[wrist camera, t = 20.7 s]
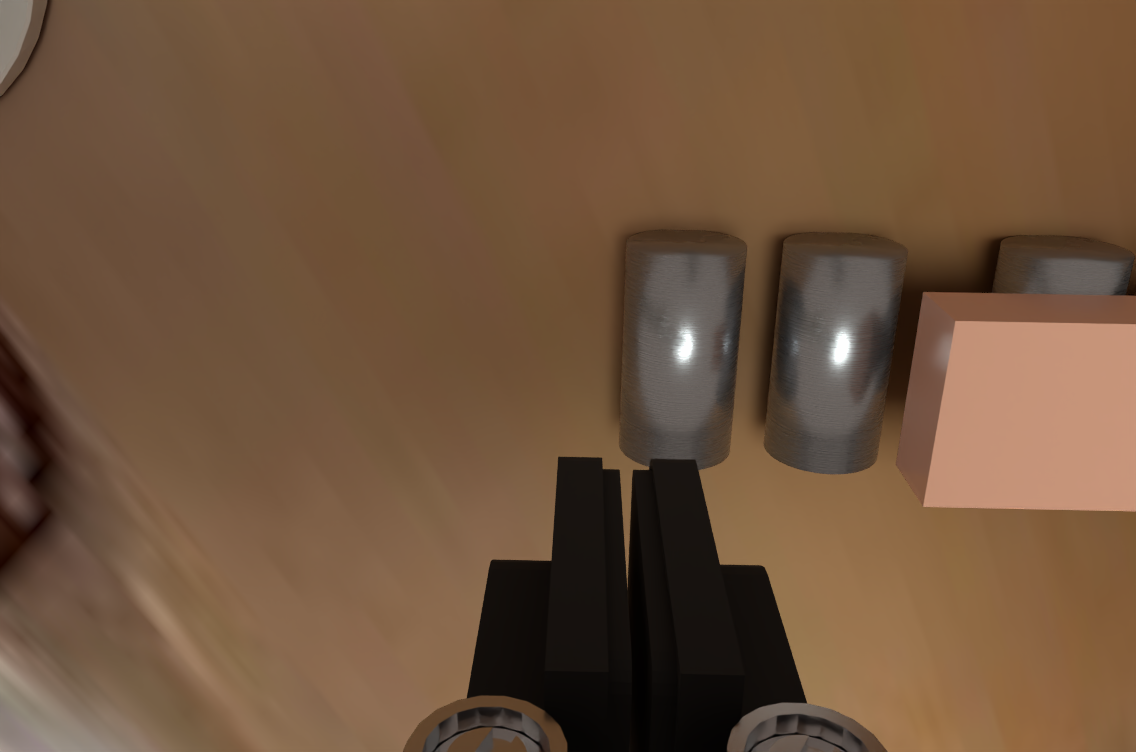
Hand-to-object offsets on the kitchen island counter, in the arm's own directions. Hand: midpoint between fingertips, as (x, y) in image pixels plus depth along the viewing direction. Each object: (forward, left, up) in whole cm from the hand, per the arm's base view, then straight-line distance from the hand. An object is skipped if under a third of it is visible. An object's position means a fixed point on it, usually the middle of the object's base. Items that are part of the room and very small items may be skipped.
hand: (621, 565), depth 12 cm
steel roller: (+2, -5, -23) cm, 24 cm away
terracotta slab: (+15, -5, -19) cm, 24 cm away
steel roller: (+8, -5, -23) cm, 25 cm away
